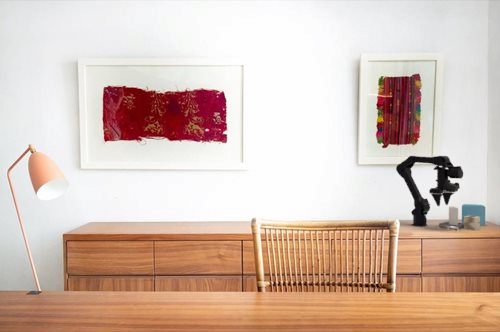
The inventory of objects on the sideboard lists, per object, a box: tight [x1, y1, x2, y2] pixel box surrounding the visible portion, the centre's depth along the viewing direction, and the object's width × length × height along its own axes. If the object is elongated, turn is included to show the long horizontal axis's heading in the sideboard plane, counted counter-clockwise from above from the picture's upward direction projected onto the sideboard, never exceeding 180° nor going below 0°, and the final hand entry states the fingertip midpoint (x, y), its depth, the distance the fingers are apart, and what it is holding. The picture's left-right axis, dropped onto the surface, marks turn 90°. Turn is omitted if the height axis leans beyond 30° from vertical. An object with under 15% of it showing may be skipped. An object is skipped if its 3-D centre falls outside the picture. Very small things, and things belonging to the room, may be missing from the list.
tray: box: [438, 220, 464, 230], centre depth 244 cm, size 11×11×2 cm
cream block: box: [448, 206, 459, 225], centre depth 244 cm, size 4×5×11 cm
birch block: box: [463, 216, 481, 231], centre depth 238 cm, size 6×6×7 cm
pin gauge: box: [439, 225, 460, 230], centre depth 239 cm, size 10×2×2 cm
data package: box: [461, 203, 486, 227], centre depth 253 cm, size 12×4×12 cm, turn 72°
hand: (442, 205), depth 240 cm, fingers open, 9 cm apart
